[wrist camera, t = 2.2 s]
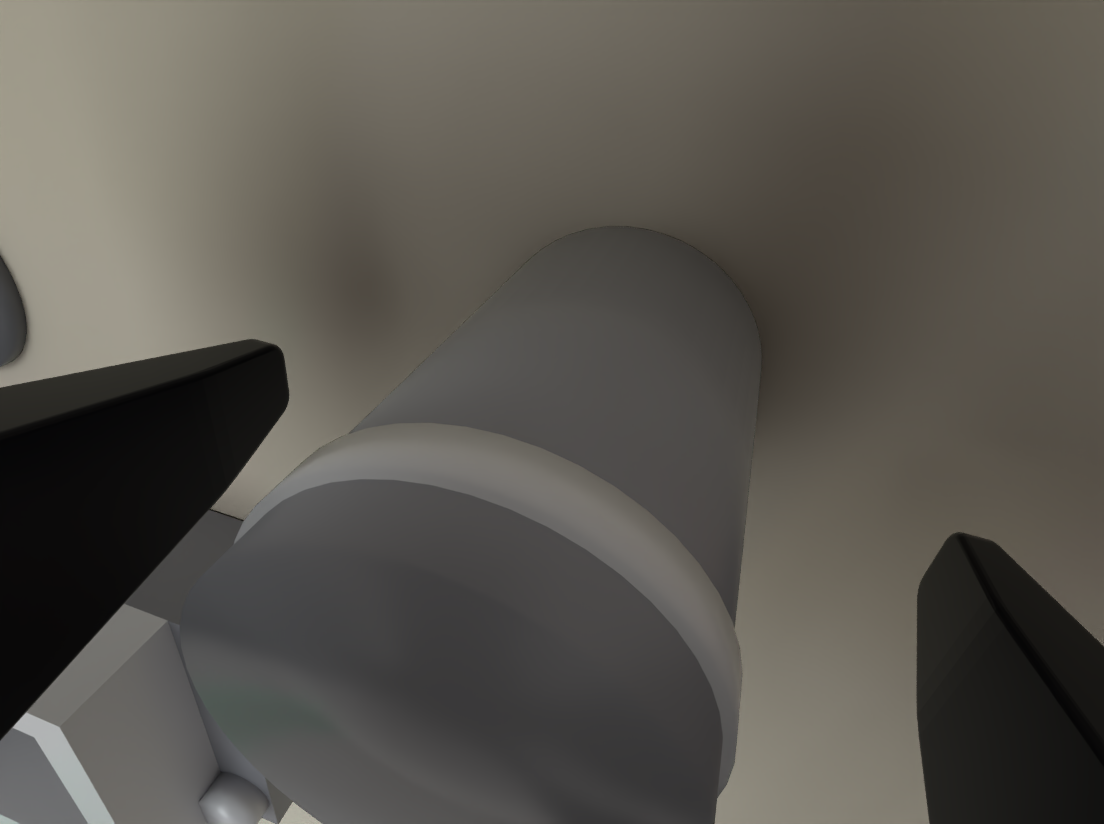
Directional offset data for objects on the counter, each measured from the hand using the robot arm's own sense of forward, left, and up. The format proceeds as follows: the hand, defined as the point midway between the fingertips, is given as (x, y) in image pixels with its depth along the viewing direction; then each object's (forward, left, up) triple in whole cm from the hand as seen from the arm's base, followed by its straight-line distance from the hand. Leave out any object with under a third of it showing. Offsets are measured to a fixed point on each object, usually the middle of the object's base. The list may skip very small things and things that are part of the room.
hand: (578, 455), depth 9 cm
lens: (0, 0, -3) cm, 3 cm away
